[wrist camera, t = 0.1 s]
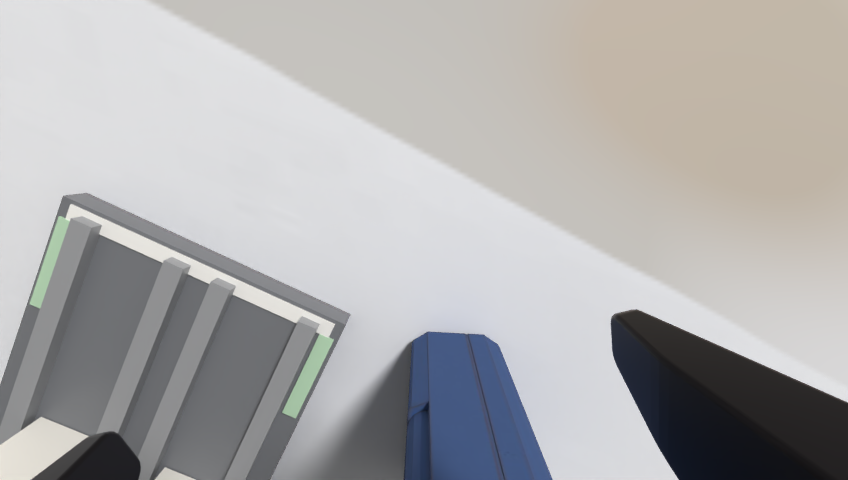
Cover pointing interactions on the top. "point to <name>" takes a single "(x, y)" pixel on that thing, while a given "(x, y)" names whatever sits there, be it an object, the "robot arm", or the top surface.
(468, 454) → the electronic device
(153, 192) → the top surface
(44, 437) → the white rectangular block
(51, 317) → the switch bank
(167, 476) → the tab
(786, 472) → the robot arm
